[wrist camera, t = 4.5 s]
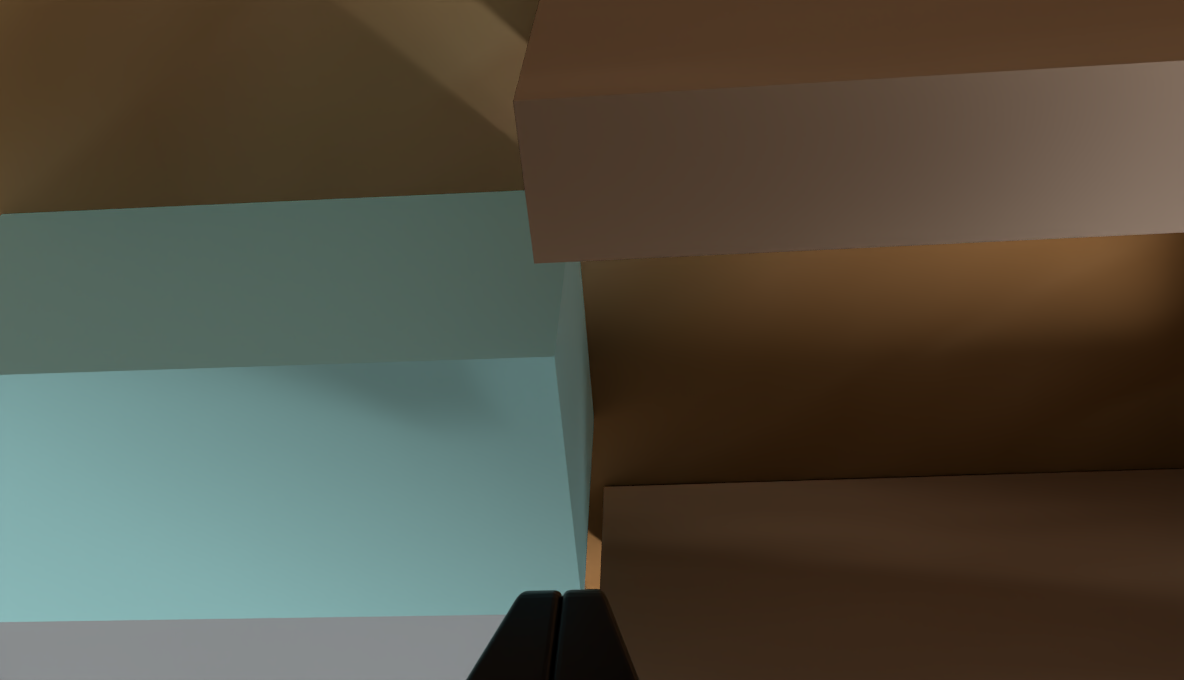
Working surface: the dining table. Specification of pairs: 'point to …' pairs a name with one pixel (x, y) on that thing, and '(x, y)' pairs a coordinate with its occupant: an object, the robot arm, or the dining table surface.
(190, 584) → the block
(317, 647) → the tray
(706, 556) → the bay
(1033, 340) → the dining table surface
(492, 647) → the robot arm
